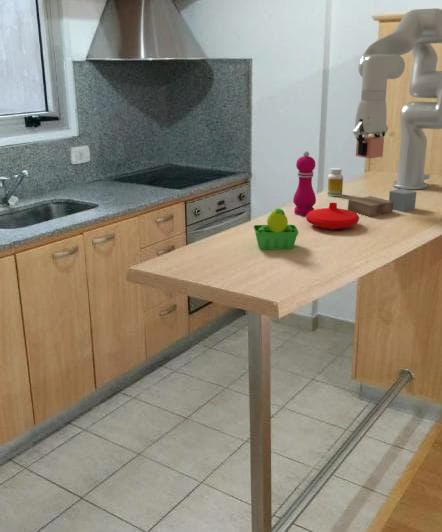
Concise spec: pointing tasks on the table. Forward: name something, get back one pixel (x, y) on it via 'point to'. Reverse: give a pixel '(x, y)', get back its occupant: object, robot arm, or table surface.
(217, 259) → the table surface
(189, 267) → the table surface
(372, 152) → the salmon pink cube
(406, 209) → the grey cube
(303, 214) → the pepper mill
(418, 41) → the robot arm
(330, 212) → the flat cone with hole
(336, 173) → the supplement bottle
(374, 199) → the walnut block
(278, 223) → the fruit basket
